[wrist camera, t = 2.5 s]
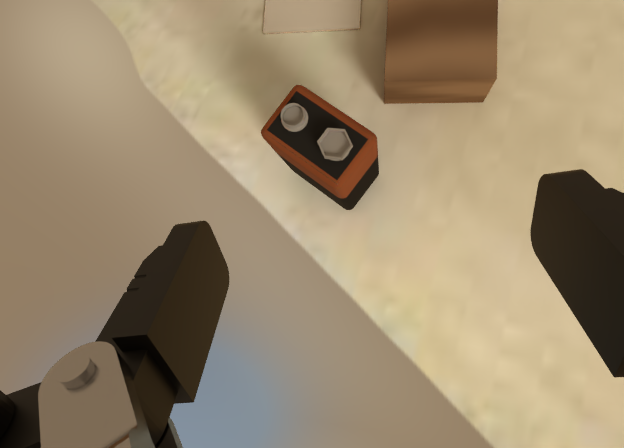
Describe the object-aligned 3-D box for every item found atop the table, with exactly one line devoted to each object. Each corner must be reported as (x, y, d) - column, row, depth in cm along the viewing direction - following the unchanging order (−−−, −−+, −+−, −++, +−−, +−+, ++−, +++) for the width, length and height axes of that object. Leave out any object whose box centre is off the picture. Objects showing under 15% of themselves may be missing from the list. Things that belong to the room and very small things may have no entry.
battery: (350, 213, 33) (336, 188, 23) (289, 168, 34) (251, 127, 25) (381, 172, 33) (380, 130, 23) (318, 129, 34) (293, 72, 25)
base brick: (389, -4, 35) (390, -39, 31) (484, -10, 33) (498, -48, 29) (384, 103, 33) (384, 81, 30) (482, 102, 32) (496, 78, 28)
